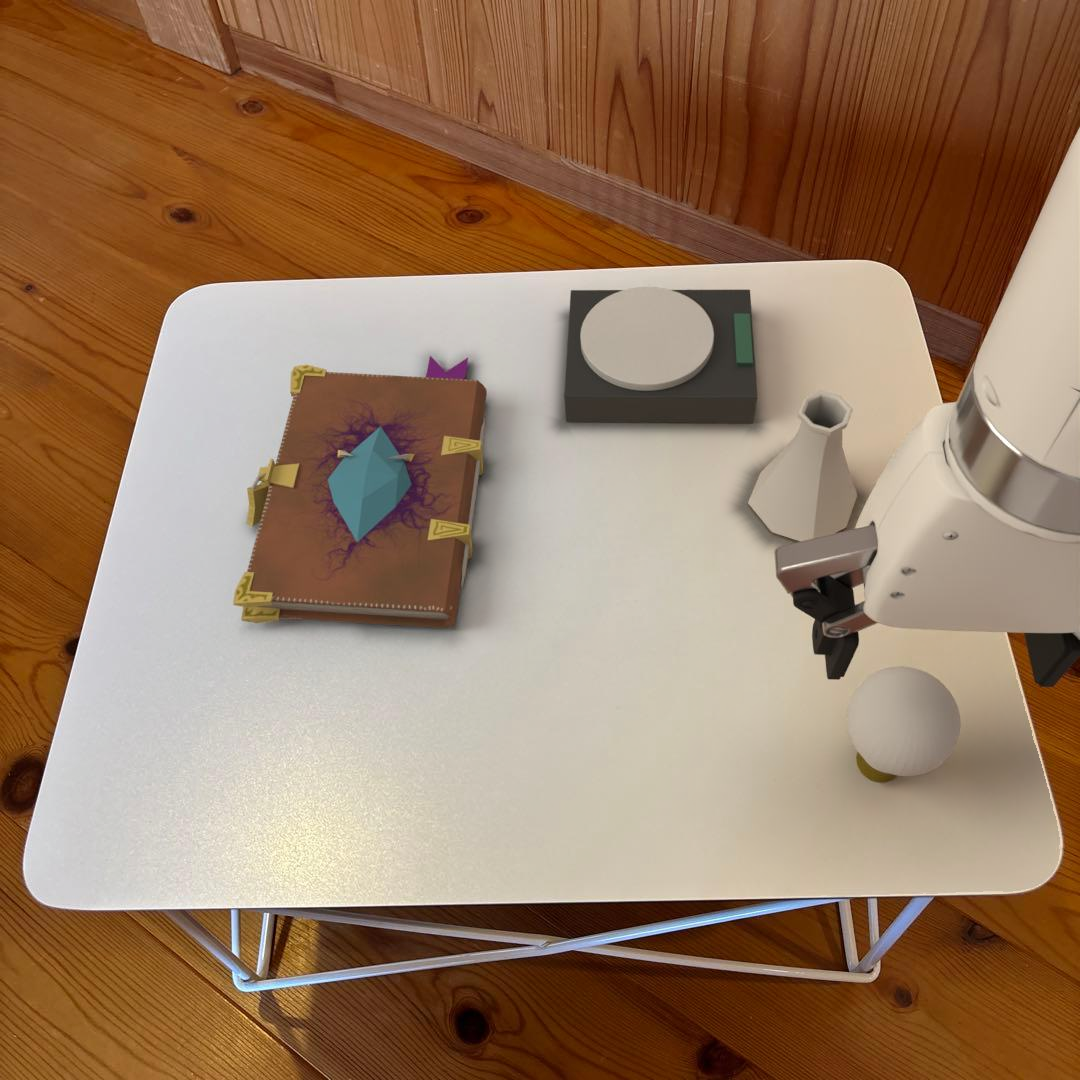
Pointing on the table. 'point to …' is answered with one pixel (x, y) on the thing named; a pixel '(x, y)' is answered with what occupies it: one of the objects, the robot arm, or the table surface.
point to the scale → (660, 356)
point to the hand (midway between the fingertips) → (933, 655)
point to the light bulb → (902, 723)
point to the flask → (809, 475)
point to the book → (368, 500)
